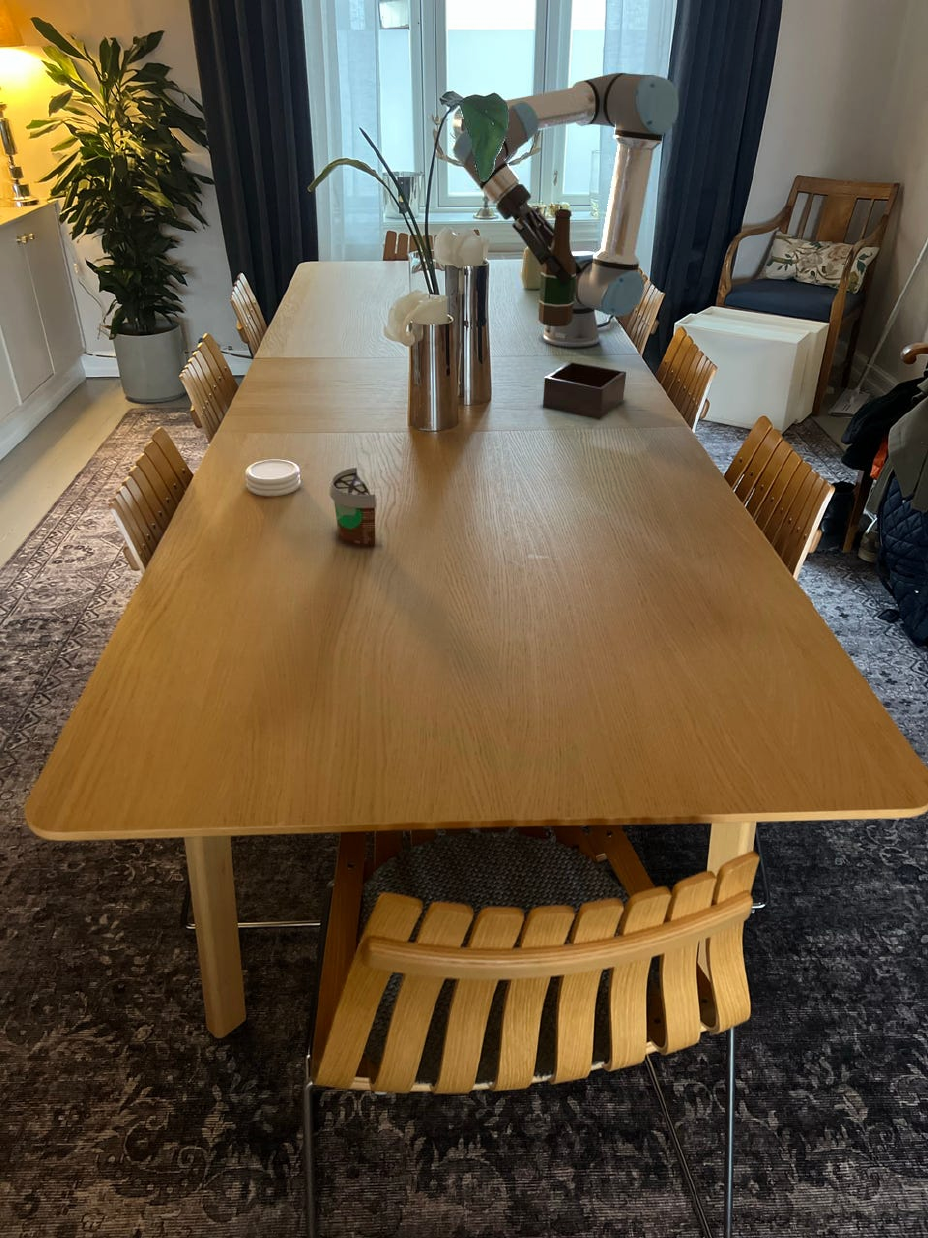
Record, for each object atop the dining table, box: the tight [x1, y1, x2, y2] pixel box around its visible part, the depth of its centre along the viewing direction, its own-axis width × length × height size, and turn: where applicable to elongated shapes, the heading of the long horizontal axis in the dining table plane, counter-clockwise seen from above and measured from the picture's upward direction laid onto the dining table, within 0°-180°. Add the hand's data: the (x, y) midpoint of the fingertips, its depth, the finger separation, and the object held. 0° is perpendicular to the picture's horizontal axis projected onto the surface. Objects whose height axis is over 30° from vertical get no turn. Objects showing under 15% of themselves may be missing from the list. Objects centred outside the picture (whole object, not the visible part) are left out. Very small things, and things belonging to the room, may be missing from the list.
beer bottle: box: [538, 208, 576, 327], centre depth 213 cm, size 8×8×24 cm
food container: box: [328, 467, 377, 548], centre depth 161 cm, size 12×6×10 cm, turn 21°
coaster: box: [244, 459, 301, 498], centre depth 179 cm, size 10×10×4 cm
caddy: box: [542, 361, 627, 420], centre depth 219 cm, size 14×14×7 cm
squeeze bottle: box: [520, 246, 542, 290], centre depth 308 cm, size 8×8×18 cm
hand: (573, 278), depth 213 cm, fingers closed on beer bottle, 7 cm apart
